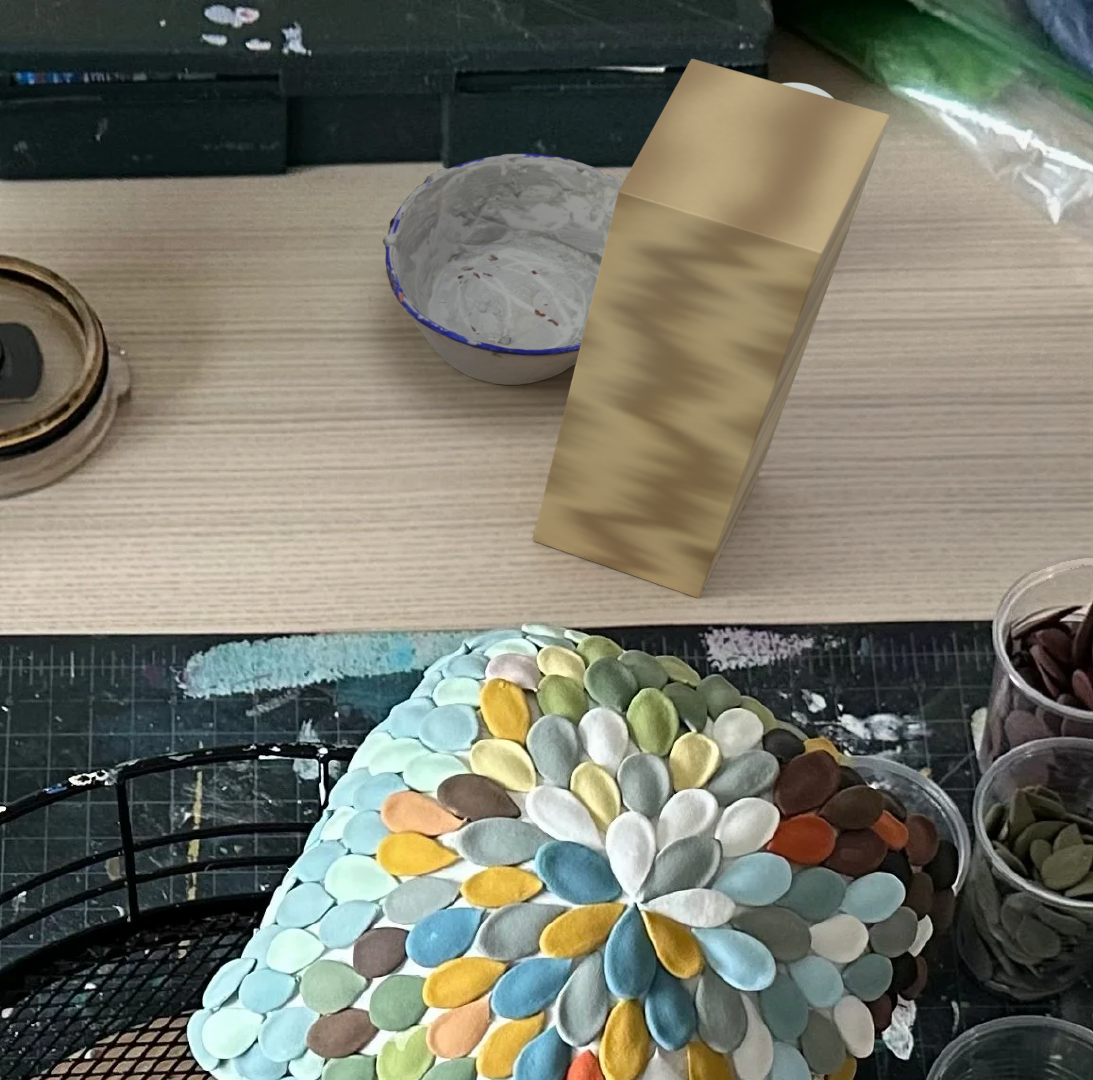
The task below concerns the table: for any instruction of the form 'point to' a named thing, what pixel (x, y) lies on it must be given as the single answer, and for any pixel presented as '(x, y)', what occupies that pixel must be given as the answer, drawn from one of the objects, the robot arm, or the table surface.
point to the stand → (702, 319)
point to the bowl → (503, 262)
